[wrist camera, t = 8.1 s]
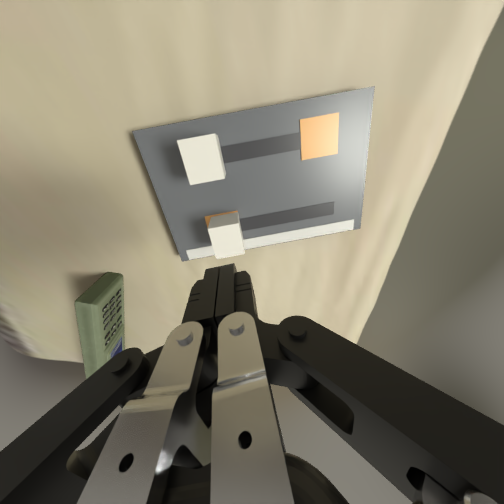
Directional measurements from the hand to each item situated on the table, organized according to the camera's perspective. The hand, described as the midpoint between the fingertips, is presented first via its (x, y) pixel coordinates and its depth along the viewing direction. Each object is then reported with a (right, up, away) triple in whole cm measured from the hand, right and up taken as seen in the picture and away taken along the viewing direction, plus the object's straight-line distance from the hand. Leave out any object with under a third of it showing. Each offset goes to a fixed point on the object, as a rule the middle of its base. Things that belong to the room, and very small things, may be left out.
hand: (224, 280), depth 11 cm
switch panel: (+3, +10, +14) cm, 17 cm away
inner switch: (-3, +11, +10) cm, 15 cm away
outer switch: (-2, +4, +14) cm, 15 cm away
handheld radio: (-22, -12, +24) cm, 34 cm away
